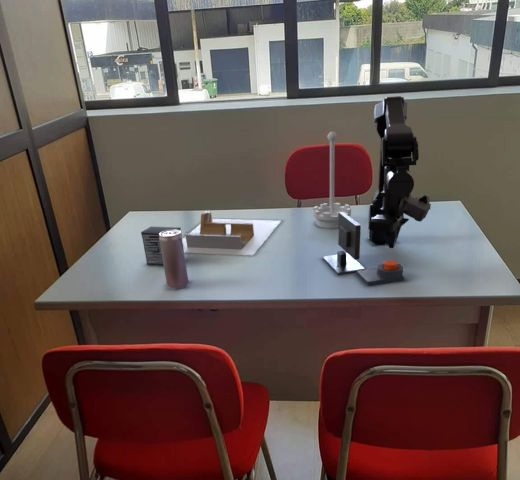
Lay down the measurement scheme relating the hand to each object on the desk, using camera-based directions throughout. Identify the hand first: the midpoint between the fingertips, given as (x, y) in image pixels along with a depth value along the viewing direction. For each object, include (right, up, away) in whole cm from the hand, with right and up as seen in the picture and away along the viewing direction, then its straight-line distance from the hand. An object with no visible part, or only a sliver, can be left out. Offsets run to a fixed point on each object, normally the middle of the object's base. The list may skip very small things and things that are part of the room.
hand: (391, 247), depth 135 cm
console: (-2, -7, +5) cm, 9 cm away
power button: (0, -5, +3) cm, 6 cm away
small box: (-63, 0, +25) cm, 68 cm away
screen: (-10, +1, +12) cm, 16 cm away
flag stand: (-9, +18, +48) cm, 52 cm away
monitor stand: (-10, -2, +14) cm, 17 cm away
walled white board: (-45, +13, +44) cm, 64 cm away
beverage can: (-57, -9, +9) cm, 58 cm away
